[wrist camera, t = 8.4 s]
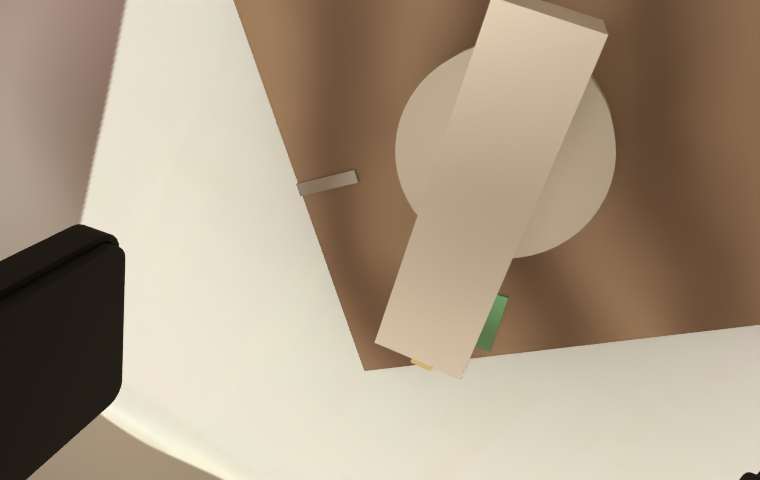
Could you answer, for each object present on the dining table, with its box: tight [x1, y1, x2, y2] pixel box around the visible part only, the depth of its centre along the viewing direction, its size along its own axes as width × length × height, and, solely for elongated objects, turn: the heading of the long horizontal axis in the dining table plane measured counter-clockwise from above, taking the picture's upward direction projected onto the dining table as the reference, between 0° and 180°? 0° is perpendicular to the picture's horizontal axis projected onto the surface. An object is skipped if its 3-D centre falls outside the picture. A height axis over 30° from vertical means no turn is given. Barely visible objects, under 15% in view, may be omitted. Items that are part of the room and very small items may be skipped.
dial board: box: [234, 0, 760, 371], centre depth 27 cm, size 20×20×2 cm
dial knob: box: [375, 0, 616, 379], centre depth 23 cm, size 16×8×9 cm, turn 163°
